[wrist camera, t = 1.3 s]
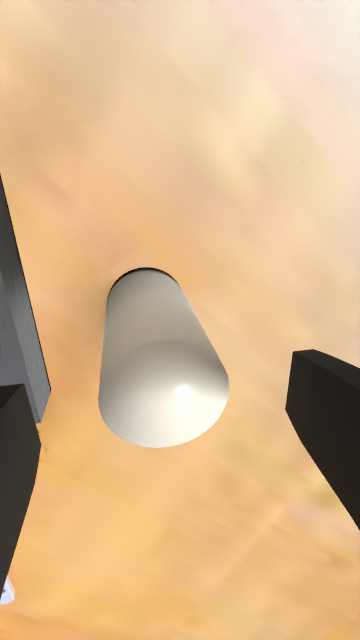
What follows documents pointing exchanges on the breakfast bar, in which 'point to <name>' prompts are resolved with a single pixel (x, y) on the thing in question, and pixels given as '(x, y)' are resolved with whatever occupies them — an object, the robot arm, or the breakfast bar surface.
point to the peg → (157, 364)
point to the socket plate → (19, 323)
